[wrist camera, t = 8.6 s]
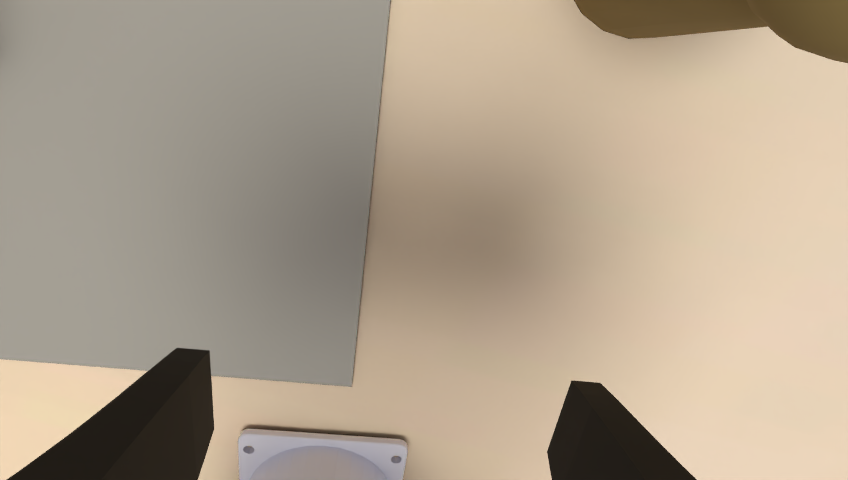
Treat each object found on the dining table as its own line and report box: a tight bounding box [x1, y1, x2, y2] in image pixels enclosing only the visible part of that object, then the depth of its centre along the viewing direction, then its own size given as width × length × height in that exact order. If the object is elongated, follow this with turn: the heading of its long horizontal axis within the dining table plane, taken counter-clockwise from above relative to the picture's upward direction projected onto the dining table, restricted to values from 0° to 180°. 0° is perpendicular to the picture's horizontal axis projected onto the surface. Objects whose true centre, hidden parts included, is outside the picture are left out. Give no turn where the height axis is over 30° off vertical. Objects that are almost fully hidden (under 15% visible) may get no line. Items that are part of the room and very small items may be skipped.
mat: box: [0, 0, 390, 387], centre depth 18 cm, size 20×20×1 cm
